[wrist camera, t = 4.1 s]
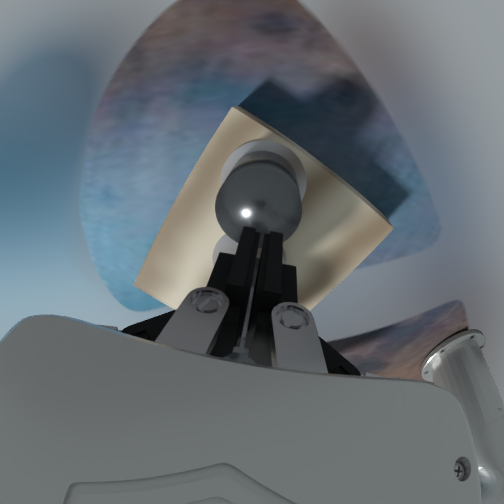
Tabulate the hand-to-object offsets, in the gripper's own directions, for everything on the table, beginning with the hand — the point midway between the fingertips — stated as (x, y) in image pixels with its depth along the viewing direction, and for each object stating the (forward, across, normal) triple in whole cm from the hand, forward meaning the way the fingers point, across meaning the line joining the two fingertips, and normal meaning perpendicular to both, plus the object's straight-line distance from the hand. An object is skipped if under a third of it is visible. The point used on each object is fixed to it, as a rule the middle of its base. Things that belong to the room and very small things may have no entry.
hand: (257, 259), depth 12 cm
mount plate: (+13, +1, +7) cm, 15 cm away
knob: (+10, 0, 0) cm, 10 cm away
